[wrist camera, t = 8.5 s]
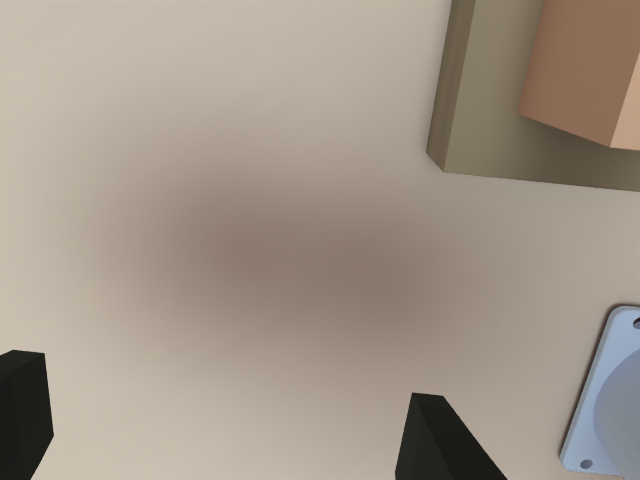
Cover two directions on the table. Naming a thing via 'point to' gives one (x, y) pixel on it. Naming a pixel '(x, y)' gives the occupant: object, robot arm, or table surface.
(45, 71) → the table surface
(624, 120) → the light tan block
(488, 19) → the olive block
